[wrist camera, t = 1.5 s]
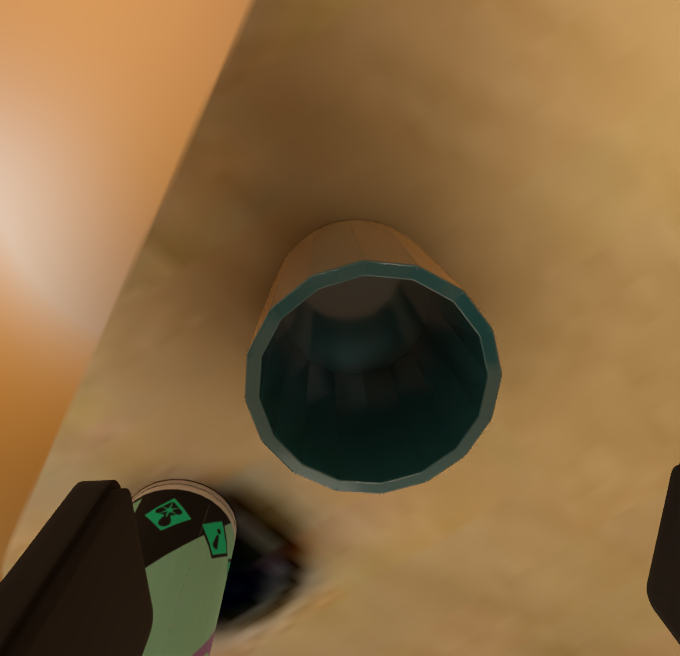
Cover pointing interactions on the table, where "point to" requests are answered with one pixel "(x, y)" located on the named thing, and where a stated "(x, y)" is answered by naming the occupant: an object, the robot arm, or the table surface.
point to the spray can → (184, 563)
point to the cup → (369, 362)
